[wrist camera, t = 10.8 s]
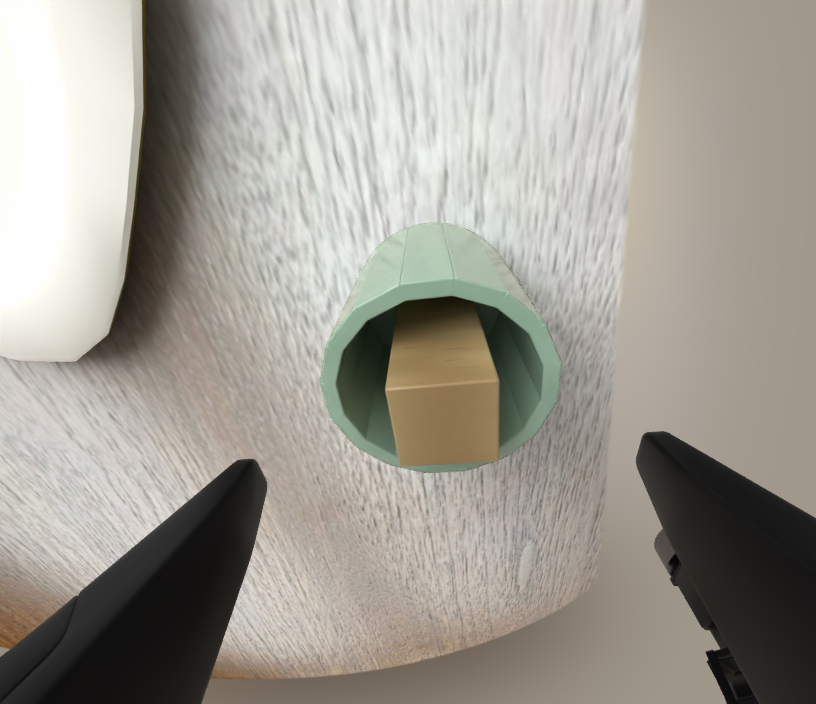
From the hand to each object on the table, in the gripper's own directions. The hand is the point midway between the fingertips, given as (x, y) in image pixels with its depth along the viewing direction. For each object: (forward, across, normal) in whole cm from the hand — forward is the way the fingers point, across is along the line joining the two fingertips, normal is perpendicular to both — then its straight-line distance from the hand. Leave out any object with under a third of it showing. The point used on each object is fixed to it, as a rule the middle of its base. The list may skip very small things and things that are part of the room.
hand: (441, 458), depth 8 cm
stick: (+9, 0, 0) cm, 9 cm away
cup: (+10, 0, 0) cm, 10 cm away
